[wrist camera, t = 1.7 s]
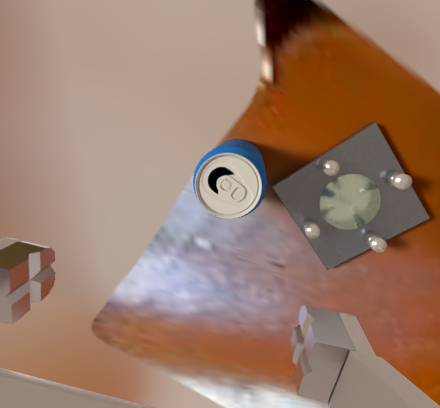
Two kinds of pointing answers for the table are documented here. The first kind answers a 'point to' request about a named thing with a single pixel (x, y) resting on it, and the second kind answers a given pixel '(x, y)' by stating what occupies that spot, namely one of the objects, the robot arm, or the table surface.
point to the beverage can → (231, 179)
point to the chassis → (351, 197)
